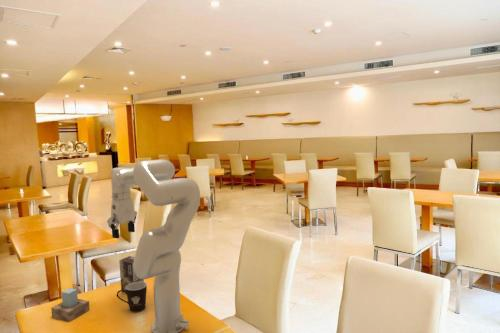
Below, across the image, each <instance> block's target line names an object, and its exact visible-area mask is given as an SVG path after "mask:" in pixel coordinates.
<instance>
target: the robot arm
mask: <svg viewBox="0 0 500 333" xmlns="http://www.w3.org/2000/svg"><path fill="white" fill-rule="evenodd" d="M175 168H176V167H175V166H174V163H172V162H171V161H169V160H168V159H165V158H163V159H161V158H160V159H149V160H148V159H147V160H141V161H138V162H137V163H136V164H135V165H134V167H126V166H125V167H124V166H122V167H121V166H120V167H114V168H112V169H111V170H110V178H111V179H110V180H111V181H110V182H111V199H112V200H111V206H110V217H109V218H108V219H107V220H106V223H107V225H108V227H110V229H111V237H112V238H113V239H120V231H119V230H120V229H119V226H120V225H122V224H123V225H124V224H126V223H127V231H128V233H135V232H136V231H135V223H136V219H137V215H138V212H137V211H136V210H135V205H134V201H133V198H132V196H131V195H132V194H131V193H132V192H131V186H138V187H139V189H140V190H141V192H143V194H144V195H145V198H146V199H147V200H148V201H149V202H150V204H151V205H153V206H155V207H163V206H169V205H175V206H174V207H173V208H172V209H171V210H170V211H169V213H168V215H167V217H166V218H165V219H166V220H165V222H164V224H163V225H161V226H160V227H156V228H152V229H148V230H146V231H145V232H144V233H142V235H140V238H139V240H138V244H137V248H136V250H135V253H134V254H135V255H134V257H135V258H134V263H133V269H134V273H135V275H136V276H137V277H138V278H140V279H144V280H148V279H151V278H154V277H155V278H154V281H153V301H154V304H153V305H154V320H155V321H154V322H153V323H152V324H151V327H150V328H151V332H152V333H181V332H182V331H183V330H188V329H189V323H190V321H189V320H187V319H185V318H184V315H183V314H182V313H181V311H182V310H181V292H180V288H181V287H180V272H181V271H180V269H181V265H182V264H181V263H182V254H181V251H180V249H181V248H182V247H183V245H184V243H185V241H186V237H187V235H188V232H189V229H190V226H191V223H192V221H193V219H194V217H195V216H196V214H197V212H198V209H199V207H200V203H201V190H200V186H199V185H198V182H196V181H195V180H194V179H193V178H188V177H177V178H173V177H174V175H175V172H176V169H175Z"/></svg>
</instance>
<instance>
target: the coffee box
mask: <svg viewBox="0 0 500 333" xmlns="http://www.w3.org/2000/svg"><path fill="white" fill-rule="evenodd" d="M134 258H135V256H131V255H130V256H127V257H124V258H122V259H120V260H119V262H118V264H119V274H120V288H121V289H120V290H125V291H126V286H127V285H128V284H130V283H134V282H144V280H145V279H140V278H138V277H137V276H136V275H135V273H134V269H133V263H134ZM120 293H121V294H123V295H126V293H125V292H123V291H121V292H120Z"/></svg>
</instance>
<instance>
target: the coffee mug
mask: <svg viewBox="0 0 500 333" xmlns="http://www.w3.org/2000/svg"><path fill="white" fill-rule="evenodd" d="M147 287H148V283H147V282H134V283H130V284H128V285H127V286H126V291H125V290H121V289H120V290H118V291H117V293H116V297H117V299H119V300H121V302H124V303H126V304H127V305H128V308H129V311H130V312H131V313H139V312H142V311H144V310H145V309H146V300H147ZM121 291H123V292H125V293H126V294H125V295H126V297H127V300H125V299H123V298H121V297H120V296H119V293H122V292H121Z"/></svg>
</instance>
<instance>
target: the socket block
mask: <svg viewBox="0 0 500 333" xmlns="http://www.w3.org/2000/svg"><path fill="white" fill-rule="evenodd" d="M50 309H51V318H53V319H54V318H55V319H57V320H61V321H67V322H72V321H74V320H75V319H77V318H79V317H80V316H82V315H84V314H86V313H87V312H89V311H90V310H91V309H90V301H89V300H87V299H82V298H78V304H77V305H75V306H73V307H72V308H66V307H63V303H62V302H60V303H58V304H56V305H54V306H52V307H51V308H50Z"/></svg>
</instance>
